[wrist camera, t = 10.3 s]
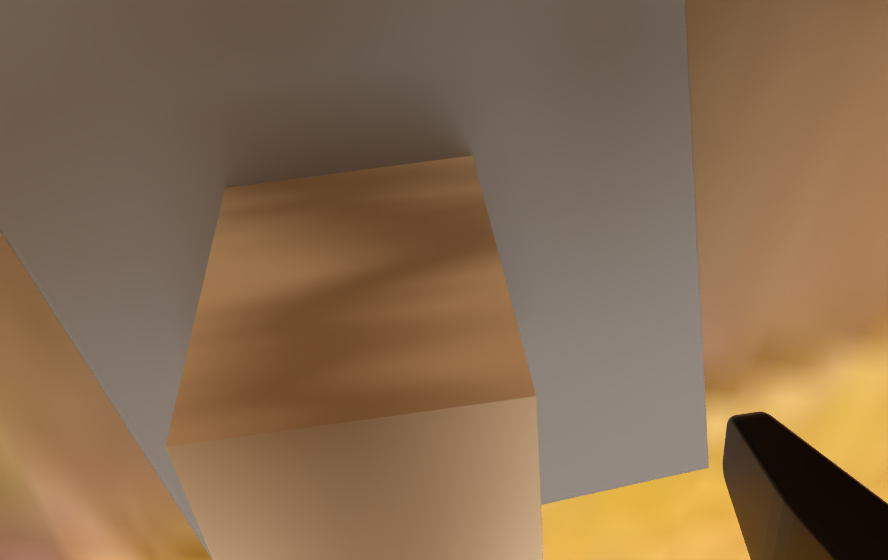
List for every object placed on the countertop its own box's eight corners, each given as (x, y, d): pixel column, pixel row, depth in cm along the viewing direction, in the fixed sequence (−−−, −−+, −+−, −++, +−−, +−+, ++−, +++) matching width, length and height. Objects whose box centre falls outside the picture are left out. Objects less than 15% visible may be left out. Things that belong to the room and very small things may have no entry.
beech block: (472, 155, 17) (536, 395, 11) (488, 343, 20) (545, 609, 14) (224, 187, 17) (164, 447, 11) (277, 372, 20) (251, 651, 14)
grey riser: (604, -312, 16) (669, -307, 13) (664, 370, 27) (708, 467, 23) (-92, -124, 17) (-195, -74, 14) (236, 467, 27) (222, 575, 24)
